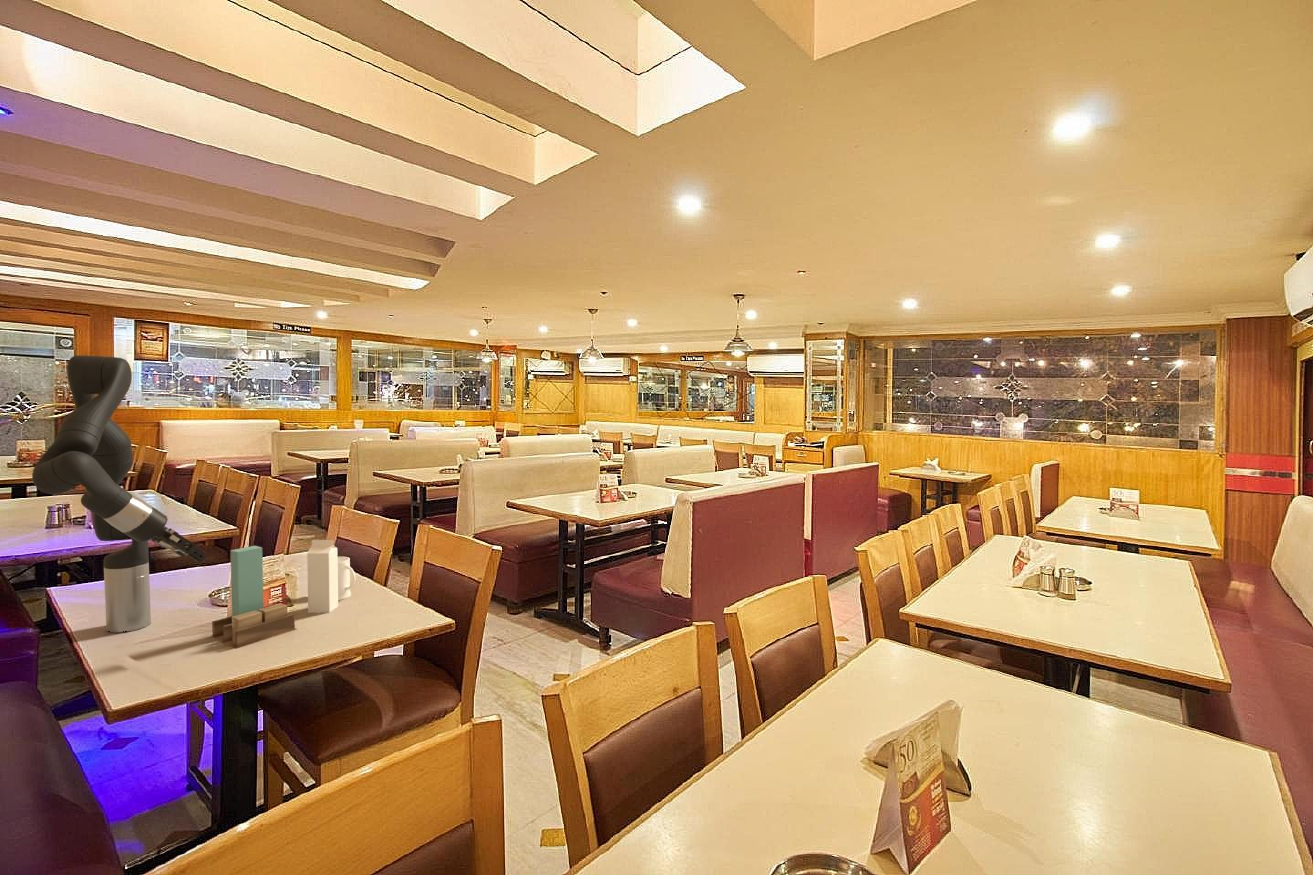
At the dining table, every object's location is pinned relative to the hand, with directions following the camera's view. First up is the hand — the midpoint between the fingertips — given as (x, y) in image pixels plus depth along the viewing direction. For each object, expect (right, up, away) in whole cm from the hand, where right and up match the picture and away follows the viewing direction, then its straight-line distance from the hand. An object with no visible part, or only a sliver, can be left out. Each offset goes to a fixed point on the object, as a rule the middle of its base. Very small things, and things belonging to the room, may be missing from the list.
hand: (194, 556), depth 150 cm
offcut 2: (+12, -22, +12) cm, 28 cm away
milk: (+16, -23, +29) cm, 40 cm away
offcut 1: (+9, -23, +6) cm, 25 cm away
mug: (+13, -22, +43) cm, 50 cm away
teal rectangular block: (+5, -22, +12) cm, 25 cm away
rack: (+8, -24, +10) cm, 27 cm away
